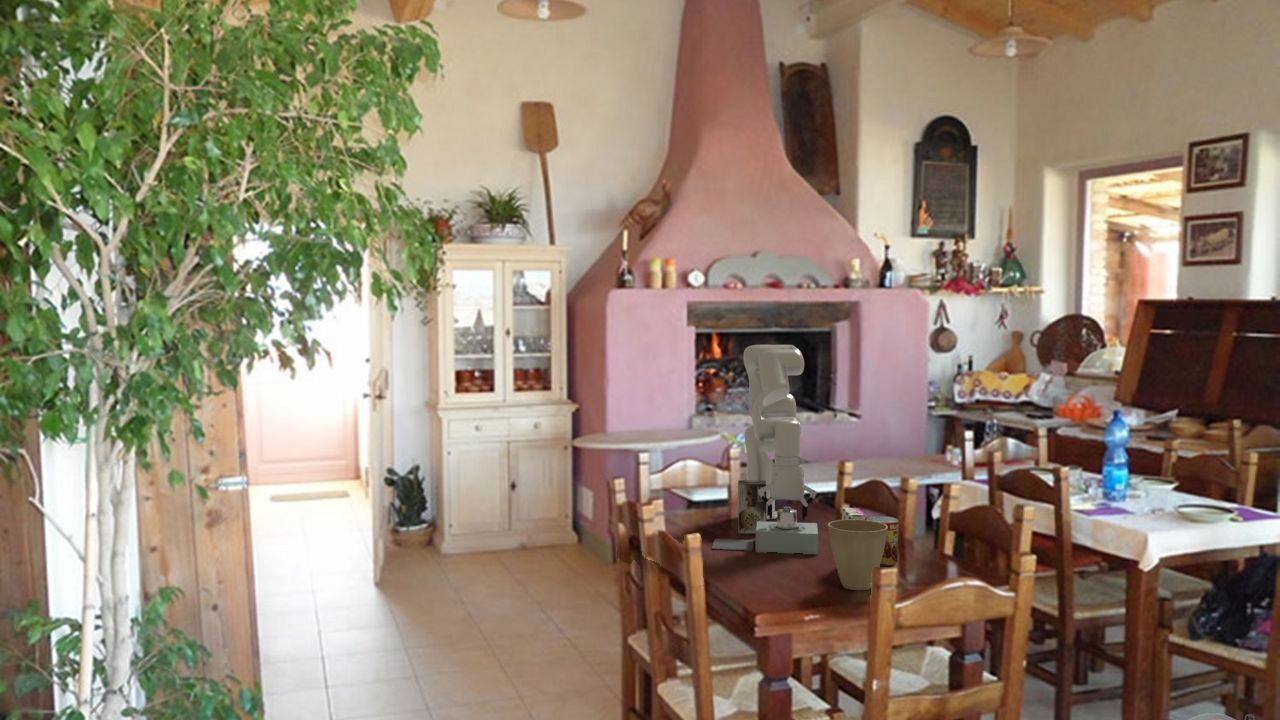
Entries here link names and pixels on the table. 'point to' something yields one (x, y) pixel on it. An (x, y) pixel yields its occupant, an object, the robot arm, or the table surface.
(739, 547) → the mat
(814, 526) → the block
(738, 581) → the table surface
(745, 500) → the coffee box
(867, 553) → the plant pot
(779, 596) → the table surface
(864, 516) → the candy bar box
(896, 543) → the canned food
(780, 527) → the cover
